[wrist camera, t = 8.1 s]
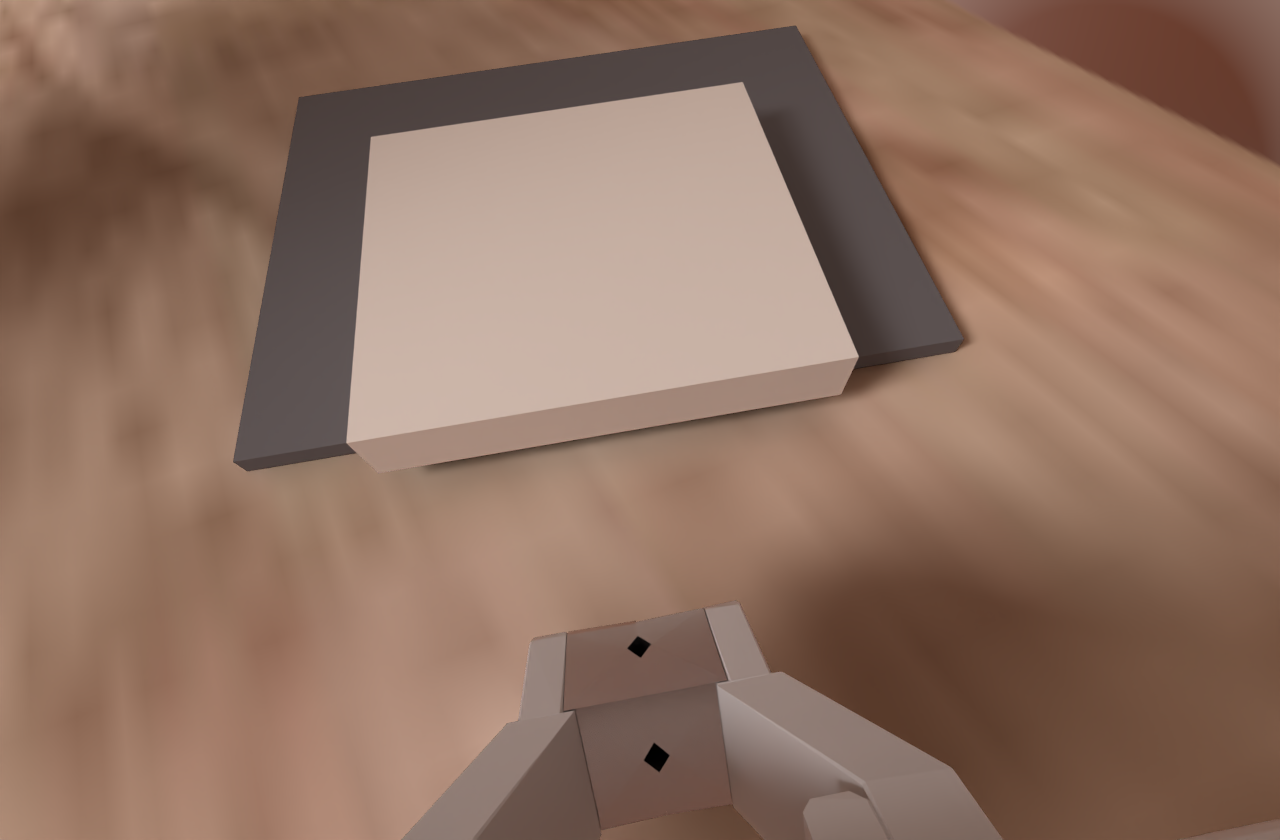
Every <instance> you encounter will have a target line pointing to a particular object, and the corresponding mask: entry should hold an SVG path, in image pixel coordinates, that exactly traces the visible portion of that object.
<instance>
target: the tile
mask: <svg viewBox="0 0 1280 840" xmlns="http://www.w3.org/2000/svg"><path fill="white" fill-rule="evenodd" d="M858 358H859V356H858V354H857V351H856V349H855V347H854V344H853V342H852V339H851V337H850V335H849V332H848V330H847V328H846V325H845V323H844V321H843V318H842V316H841V313H840V311H839V309H838V306H837V304H836V302H835V299H834V297H833V295H832V292H831V290H830V287H829V285H828V283H827V280H826V278H825V276H824V273H823V271H822V269H821V266H820V264H819V261H818V259H817V257H816V254H815V252H814V250H813V247H812V245H811V242H810V240H809V238H808V235H807V233H806V231H805V228H804V226H803V224H802V221H801V219H800V216H799V214H798V212H797V209H796V207H795V205H794V202H793V200H792V198H791V195H790V193H789V190H788V188H787V186H786V183H785V181H784V179H783V176H782V174H781V171H780V169H779V167H778V164H777V162H776V160H775V157H774V155H773V153H772V150H771V148H770V145H769V143H768V141H767V138H766V136H765V134H764V131H763V129H762V127H761V124H760V122H759V119H758V117H757V115H756V112H755V110H754V108H753V105H752V103H751V100H750V98H749V96H748V93H747V91H746V89H745V86H744V84H743V82H739V83H733V84H726V85H719V86H712V87H706V88H699V89H692V90H685V91H679V92H672V93H665V94H658V95H651V96H645V97H638V98H631V99H624V100H618V101H611V102H604V103H597V104H590V105H584V106H577V107H570V108H563V109H557V110H550V111H543V112H536V113H529V114H523V115H516V116H509V117H502V118H496V119H489V120H482V121H475V122H469V123H462V124H455V125H448V126H441V127H435V128H428V129H421V130H414V131H408V132H401V133H394V134H387V135H380V136H374V137H371V142H370V154H369V167H368V179H367V192H366V204H365V217H364V229H363V242H362V254H361V266H360V279H359V291H358V304H357V316H356V329H355V341H354V353H353V366H352V378H351V391H350V403H349V416H348V428H347V440H346V443H347V444H348V445H349V446H350V447H351V448H352V449H353V450H354V451H355V452H356V453H357V454H358V455H359V456H360V457H362V458H363V459H364V460H365V461H366V462H367V463H368V464H369V465H370V466H371V467H372V468H373V469H374V470H375V471H376V472H377V473H383V472H389V471H395V470H401V469H407V468H413V467H419V466H424V465H430V464H436V463H442V462H448V461H454V460H460V459H466V458H471V457H477V456H483V455H489V454H495V453H501V452H507V451H512V450H518V449H524V448H530V447H536V446H542V445H548V444H554V443H559V442H565V441H571V440H577V439H583V438H589V437H595V436H601V435H606V434H612V433H618V432H624V431H630V430H636V429H642V428H647V427H653V426H659V425H665V424H671V423H677V422H683V421H689V420H694V419H700V418H706V417H712V416H718V415H724V414H730V413H736V412H741V411H747V410H753V409H759V408H765V407H771V406H777V405H782V404H788V403H794V402H800V401H806V400H812V399H818V398H824V397H829V396H835V395H841V393H842V391H843V389H844V387H845V385H846V383H847V381H848V379H849V377H850V375H851V373H852V370H853V368H854V366H855V364H856V362H857V360H858Z"/></svg>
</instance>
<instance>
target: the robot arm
mask: <svg viewBox="0 0 1280 840" xmlns="http://www.w3.org/2000/svg"><path fill="white" fill-rule="evenodd" d="M730 804H733V808H734V809H735V810H736V811H737V812H738V813H739V814H740V815H741V816H742V817H743V818H744V819H745V820H746V821H747V822H748V823H749V824H750V825H751V826H752V827H753V828H754V830H755V831H756V832H757V833H758V834H759V835H760V836H761V837H762V838H763V839H764V840H1003V839H1002V837H1001V836H1000V834H999V833H998V832H997V830H996V829H995V827H994V826H993V825H992V823H991V822H990V820H989V819H988V818H987V816H986V815H985V813H984V812H983V810H982V809H981V808H980V806H979V805H978V803H977V802H976V801H975V799H974V798H973V796H972V795H971V794H970V792H969V791H968V789H967V788H966V787H965V785H964V784H963V782H962V781H961V780H960V778H959V777H958V775H957V774H956V773H955V771H954V770H953V768H951V767H950V766H948V765H946V764H944V763H943V762H941V761H939V760H937V759H936V758H934V757H932V756H930V755H929V754H927V753H925V752H923V751H921V750H920V749H918V748H916V747H914V746H913V745H911V744H909V743H907V742H906V741H904V740H902V739H900V738H899V737H897V736H895V735H893V734H892V733H890V732H888V731H886V730H884V729H883V728H881V727H879V726H877V725H876V724H874V723H872V722H870V721H869V720H867V719H865V718H863V717H862V716H860V715H858V714H856V713H854V712H853V711H851V710H849V709H847V708H846V707H844V706H842V705H840V704H839V703H837V702H835V701H833V700H832V699H830V698H828V697H826V696H824V695H823V694H821V693H819V692H817V691H816V690H814V689H812V688H810V687H809V686H807V685H805V684H803V683H802V682H800V681H798V680H796V679H794V678H793V677H791V676H789V675H787V674H786V673H784V672H776V673H771V671H770V669H769V667H768V664H767V662H766V660H765V658H764V656H763V653H762V651H761V649H760V647H759V644H758V642H757V640H756V638H755V635H754V633H753V631H752V629H751V626H750V624H749V622H748V620H747V618H746V615H745V613H744V611H743V609H742V606H741V604H740V603H739V602H738V601H736V600H735V601H730V602H726V603H721V604H717V605H712V606H707V607H703V608H701V609H696V610H691V611H686V612H681V613H676V614H671V615H666V616H662V617H657V618H652V619H647V620H642V621H637V622H636V621H631V622H624V623H618V624H612V625H606V626H600V627H593V628H587V629H581V630H575V631H569V632H568V633H566V632H562V633H557V634H551V635H546V636H541V637H535V638H533V639H532V641H531V643H530V644H529V651H528V658H527V664H526V671H525V678H524V685H523V692H522V698H521V705H520V712H519V719H518V721H516V722H511V723H507V724H506V725H505V726H504V727H503V729H502V730H501V731H500V732H499V733H498V734H497V735H496V736H495V737H494V738H493V739H492V741H491V742H490V743H489V744H488V745H487V746H486V747H485V748H484V749H483V750H482V752H481V753H480V754H479V755H478V756H477V757H476V758H475V759H474V760H473V761H472V763H471V764H470V765H469V766H468V767H467V768H466V769H465V770H464V771H463V772H462V774H461V775H460V776H459V777H458V778H457V779H456V780H455V781H454V782H453V783H452V785H451V786H450V787H449V788H448V789H447V790H446V791H445V792H444V793H443V794H442V796H441V797H440V798H439V799H438V800H437V801H436V802H435V803H434V804H433V805H432V807H431V808H430V809H429V810H428V811H427V812H426V813H425V814H424V815H423V816H422V818H421V819H420V820H419V821H418V822H417V823H416V824H415V825H414V826H413V827H412V829H411V830H410V831H409V832H408V833H407V834H406V835H405V836H404V837H403V838H402V840H599V839H600V837H601V835H602V834H601V830H604V829H608V828H612V827H617V826H621V825H625V824H630V823H634V822H638V821H643V820H647V819H652V818H656V817H660V816H665V815H670V814H676V813H682V812H688V811H694V810H700V809H706V808H712V807H718V806H724V805H730ZM666 812H667V813H666ZM1178 840H1280V819H1275V820H1270V821H1265V822H1260V823H1256V824H1251V825H1246V826H1241V827H1236V828H1232V829H1227V830H1222V831H1217V832H1212V833H1207V834H1203V835H1198V836H1193V837H1188V838H1183V839H1178Z"/></svg>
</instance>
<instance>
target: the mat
mask: <svg viewBox="0 0 1280 840" xmlns="http://www.w3.org/2000/svg"><path fill="white" fill-rule="evenodd" d="M739 82H743V84H744V86H745V89H746V91H747V93H748V96H749V98H750V100H751V103H752V105H753V108H754V110H755V112H756V115H757V117H758V119H759V122H760V124H761V127H762V129H763V131H764V134H765V136H766V138H767V141H768V143H769V145H770V148H771V150H772V153H773V155H774V157H775V160H776V162H777V164H778V167H779V169H780V171H781V174H782V176H783V179H784V181H785V183H786V186H787V188H788V190H789V193H790V195H791V198H792V200H793V202H794V205H795V207H796V209H797V212H798V214H799V216H800V219H801V221H802V224H803V226H804V228H805V231H806V233H807V235H808V238H809V240H810V242H811V245H812V247H813V250H814V252H815V254H816V257H817V259H818V261H819V264H820V266H821V269H822V271H823V273H824V276H825V278H826V280H827V283H828V285H829V287H830V290H831V292H832V295H833V297H834V299H835V302H836V304H837V306H838V309H839V311H840V313H841V316H842V318H843V321H844V323H845V325H846V328H847V330H848V332H849V335H850V337H851V339H852V342H853V344H854V347H855V349H856V351H857V354H858V356H859V358H858V360H857V362H856V364H855V366H854V368H853V369H855V368H861V367H867V366H873V365H879V364H885V363H891V362H897V361H903V360H909V359H915V358H921V357H927V356H932V355H938V354H944V353H950V352H955V351H956V350H957V348H958V347H959V345H960V344H961V343H962V341H963V340H964V338H963V336H962V334H961V332H960V331H959V329H958V327H957V325H956V323H955V321H954V319H953V318H952V316H951V314H950V312H949V310H948V308H947V306H946V304H945V303H944V301H943V299H942V297H941V295H940V293H939V291H938V290H937V288H936V286H935V284H934V282H933V280H932V278H931V277H930V275H929V273H928V271H927V269H926V267H925V265H924V264H923V262H922V260H921V258H920V256H919V254H918V252H917V250H916V249H915V247H914V245H913V243H912V241H911V239H910V237H909V236H908V234H907V232H906V230H905V228H904V226H903V224H902V223H901V221H900V219H899V217H898V215H897V213H896V211H895V210H894V208H893V206H892V204H891V202H890V200H889V198H888V196H887V195H886V193H885V191H884V189H883V187H882V185H881V183H880V182H879V180H878V178H877V176H876V174H875V172H874V170H873V169H872V167H871V165H870V163H869V161H868V159H867V157H866V155H865V154H864V152H863V150H862V148H861V146H860V144H859V142H858V141H857V139H856V137H855V135H854V133H853V131H852V129H851V128H850V126H849V124H848V122H847V120H846V118H845V116H844V115H843V113H842V111H841V109H840V107H839V105H838V103H837V101H836V100H835V98H834V96H833V94H832V92H831V90H830V88H829V87H828V85H827V83H826V81H825V79H824V77H823V75H822V74H821V72H820V70H819V68H818V66H817V64H816V62H815V60H814V59H813V57H812V55H811V53H810V51H809V49H808V47H807V46H806V44H805V42H804V40H803V38H802V36H801V34H800V33H799V31H798V29H797V27H796V26H790V27H783V28H776V29H769V30H762V31H755V32H748V33H741V34H735V35H728V36H721V37H714V38H707V39H700V40H693V41H686V42H679V43H672V44H665V45H658V46H651V47H644V48H638V49H631V50H624V51H617V52H610V53H603V54H596V55H589V56H582V57H575V58H568V59H561V60H554V61H547V62H541V63H534V64H527V65H520V66H513V67H506V68H499V69H492V70H485V71H478V72H471V73H464V74H457V75H450V76H444V77H437V78H430V79H423V80H416V81H409V82H402V83H395V84H388V85H381V86H374V87H367V88H360V89H353V90H347V91H340V92H333V93H326V94H319V95H312V96H305V97H299V100H298V106H297V112H296V117H295V123H294V128H293V134H292V139H291V145H290V150H289V156H288V161H287V167H286V172H285V178H284V183H283V189H282V194H281V200H280V205H279V211H278V217H277V222H276V228H275V233H274V239H273V244H272V250H271V255H270V261H269V266H268V272H267V277H266V283H265V288H264V294H263V299H262V305H261V310H260V316H259V322H258V327H257V333H256V338H255V344H254V349H253V355H252V360H251V366H250V371H249V377H248V382H247V388H246V393H245V399H244V404H243V410H242V416H241V421H240V427H239V432H238V438H237V443H236V449H235V454H234V460H233V462H234V463H236V464H237V465H239V466H240V467H242V468H243V469H245V470H246V471H251V470H257V469H263V468H269V467H275V466H281V465H287V464H293V463H299V462H305V461H310V460H316V459H322V458H328V457H334V456H340V455H346V454H352V453H356V452H355V451H354V450H353V449H352V448H351V447H350V446H349V445H348V444H347V443H346V440H347V428H348V416H349V403H350V391H351V378H352V366H353V353H354V341H355V329H356V316H357V304H358V291H359V279H360V266H361V254H362V242H363V229H364V217H365V204H366V192H367V179H368V167H369V154H370V142H371V137H374V136H380V135H387V134H394V133H401V132H408V131H414V130H421V129H428V128H435V127H441V126H448V125H455V124H462V123H469V122H475V121H482V120H489V119H496V118H502V117H509V116H516V115H523V114H529V113H536V112H543V111H550V110H557V109H563V108H570V107H577V106H584V105H590V104H597V103H604V102H611V101H618V100H624V99H631V98H638V97H645V96H651V95H658V94H665V93H672V92H679V91H685V90H692V89H699V88H706V87H712V86H719V85H726V84H733V83H739Z"/></svg>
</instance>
